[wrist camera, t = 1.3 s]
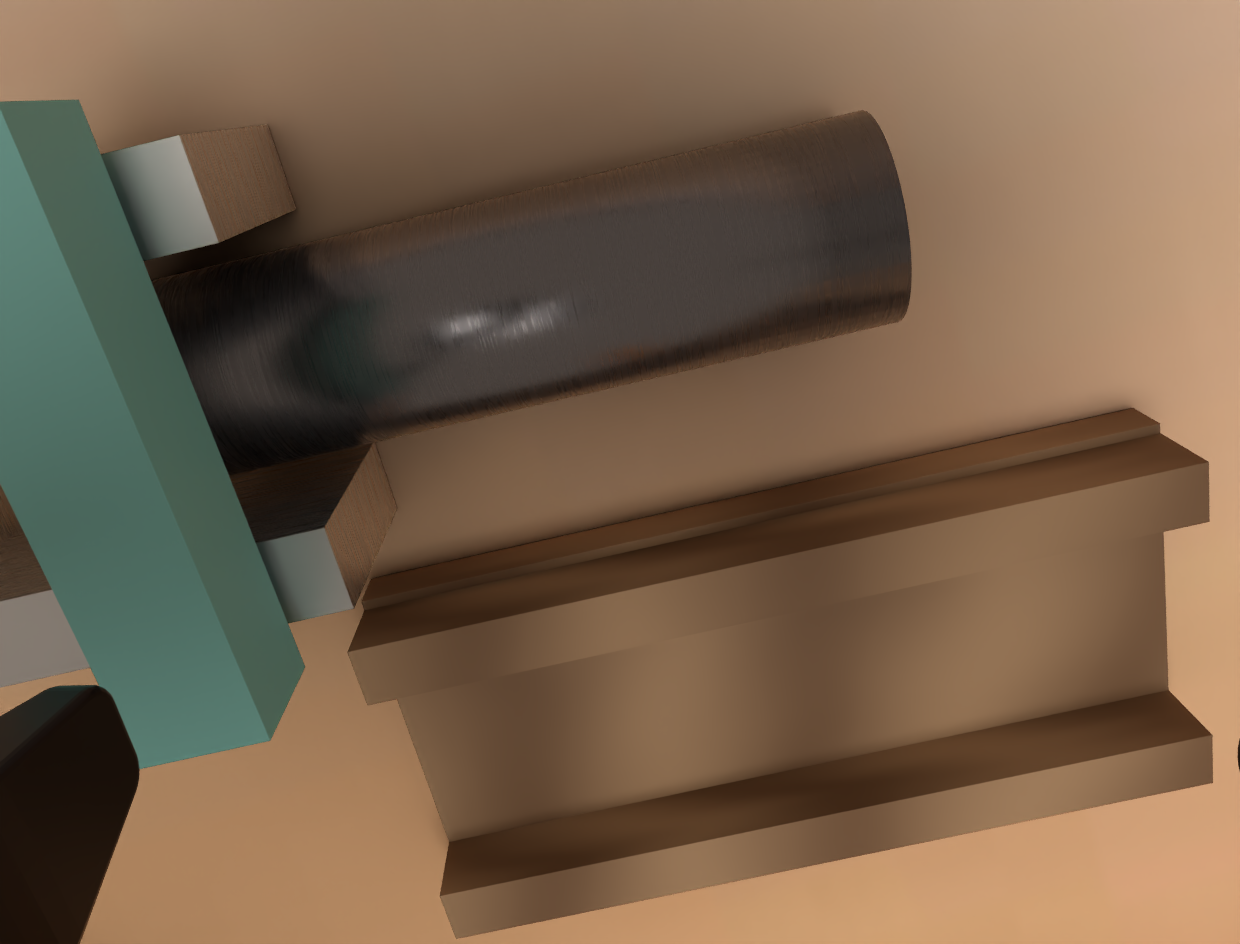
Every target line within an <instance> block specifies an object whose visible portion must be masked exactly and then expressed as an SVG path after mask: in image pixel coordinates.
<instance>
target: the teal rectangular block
mask: <svg viewBox="0 0 1240 944" xmlns="http://www.w3.org/2000/svg"><path fill="white" fill-rule="evenodd" d="M0 484H1V487H2V489H3V491H4V493H5V495H6V497H7V499H8V501H9V503H10V505H11V507H12V509H13V511H14V513H15V515H16V517H17V519H18V521H19V523H20V525H21V527H22V529H23V531H24V533H25V535H26V537H27V539H28V542H29V544H30V546H31V548H32V550H33V552H34V554H35V556H36V558H37V560H38V562H39V564H40V566H41V568H42V570H43V572H44V574H45V576H46V578H47V580H48V582H49V584H50V586H51V588H52V590H53V592H54V594H55V597H56V599H57V601H58V603H59V605H60V607H61V609H62V611H63V613H64V615H65V617H66V619H67V621H68V623H69V625H70V627H71V629H72V631H73V633H74V635H75V637H76V639H77V641H78V643H79V645H80V647H81V649H82V652H83V654H84V656H85V658H86V660H87V662H88V664H89V666H90V668H91V670H92V672H93V674H94V676H95V678H96V680H97V682H98V684H99V686H100V687H103V688H104V689H106V690H107V691H108V692H109V693H110V694H111V695H112V697H113V699H114V701H115V703H116V706H117V708H118V710H119V713H120V715H121V718H122V720H123V722H124V725H125V727H126V730H127V732H128V734H129V737H130V739H131V742H132V744H133V746H134V749H135V751H136V754H137V757H138V761H139V768H140V769H142V768H147V767H152V766H156V765H161V764H165V763H170V762H175V761H179V760H184V759H188V758H193V757H197V756H202V755H207V754H211V753H216V752H220V751H225V750H230V749H234V748H239V747H243V746H248V745H253V744H257V743H262V742H266V741H270V740H271V738H272V736H273V734H274V732H275V730H276V728H277V725H278V723H279V721H280V719H281V717H282V715H283V713H284V711H285V709H286V706H287V704H288V702H289V700H290V698H291V696H292V694H293V692H294V689H295V687H296V685H297V683H298V681H299V679H300V677H301V675H302V673H303V670H304V668H305V665H304V663H303V660H302V658H301V655H300V653H299V650H298V648H297V645H296V643H295V640H294V638H293V635H292V633H291V630H290V628H289V625H288V623H287V620H286V618H285V615H284V613H283V610H282V608H281V605H280V603H279V600H278V598H277V595H276V593H275V590H274V588H273V585H272V583H271V580H270V578H269V575H268V573H267V570H266V568H265V565H264V563H263V560H262V558H261V555H260V553H259V550H258V548H257V545H256V543H255V540H254V538H253V535H252V533H251V530H250V527H249V525H248V522H247V520H246V517H245V515H244V512H243V510H242V507H241V505H240V502H239V500H238V497H237V495H236V492H235V490H234V487H233V485H232V482H231V480H230V477H229V475H228V472H227V470H226V467H225V465H224V462H223V460H222V457H221V455H220V452H219V450H218V447H217V445H216V442H215V440H214V437H213V435H212V432H211V430H210V427H209V425H208V422H207V420H206V417H205V415H204V412H203V410H202V407H201V405H200V402H199V400H198V397H197V395H196V392H195V390H194V387H193V385H192V382H191V380H190V377H189V375H188V372H187V370H186V367H185V365H184V362H183V360H182V357H181V355H180V352H179V350H178V347H177V345H176V342H175V340H174V337H173V335H172V332H171V330H170V327H169V325H168V322H167V320H166V317H165V315H164V312H163V310H162V307H161V305H160V302H159V300H158V297H157V295H156V292H155V290H154V287H153V285H152V282H151V280H150V277H149V275H148V272H147V270H146V267H145V265H144V262H143V260H142V257H141V255H140V252H139V249H138V247H137V244H136V242H135V239H134V237H133V234H132V232H131V229H130V227H129V224H128V222H127V219H126V217H125V214H124V212H123V209H122V207H121V204H120V202H119V199H118V197H117V194H116V192H115V189H114V187H113V184H112V182H111V179H110V177H109V174H108V172H107V169H106V167H105V164H104V162H103V159H102V157H101V154H100V152H99V149H98V147H97V144H96V142H95V139H94V137H93V134H92V132H91V129H90V127H89V124H88V122H87V119H86V117H85V114H84V112H83V109H82V107H81V104H80V102H79V100H50V101H10V102H0Z"/></svg>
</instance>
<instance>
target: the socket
mask: <svg viewBox="0 0 1240 944" xmlns="http://www.w3.org/2000/svg"><path fill="white" fill-rule="evenodd" d="M101 157H102V159H103V162H104V164H105V167H106V169H107V172H108V174H109V177H110V179H111V182H112V184H113V187H114V189H115V192H116V194H117V197H118V199H119V202H120V204H121V207H122V209H123V212H124V214H125V217H126V219H127V222H128V224H129V227H130V229H131V232H132V234H133V237H134V239H135V242H136V244H137V247H138V249H139V252H140V255H141V257H142V260H143V261H145V260H150V259H154V258H158V257H162V256H166V255H170V254H174V253H179V252H183V251H187V250H191V249H195V248H199V247H203V246H208V245H212V244H216V243H219V242H222V241H224V240H226V239H229V238H231V237H233V236H236V235H238V234H240V233H243V232H245V231H247V230H250V229H252V228H254V227H257V226H259V225H261V224H263V223H266V222H268V221H270V220H273V219H275V218H277V217H280V216H282V215H284V214H287V213H289V212H291V211H294V210H296V208H295V205H294V202H293V199H292V196H291V193H290V190H289V187H288V184H287V181H286V178H285V175H284V172H283V169H282V166H281V163H280V160H279V157H278V154H277V151H276V148H275V145H274V142H273V139H272V136H271V134H270V131H269V128H268V125H259V126H251V127H243V128H234V129H226V130H218V131H209V132H201V133H193V134H184V135H177V136H173V137H169V138H165V139H161V140H157V141H153V142H149V143H145V144H141V145H137V146H133V147H129V148H125V149H121V150H117V151H113V152H109V153H105V154H101ZM229 477H230V480H231V482H232V485H233V487H234V490H235V492H236V495H237V497H238V500H239V502H240V505H241V507H242V510H243V512H244V515H245V517H246V520H247V522H248V525H249V527H250V530H251V533H252V535H253V538H254V540H255V543H256V545H257V548H258V550H259V553H260V555H261V558H262V560H263V563H264V565H265V568H266V570H267V573H268V575H269V578H270V580H271V583H272V585H273V588H274V590H275V593H276V595H277V598H278V600H279V603H280V605H281V608H282V610H283V613H284V615H285V618H286V620H287V623H292V622H296V621H301V620H305V619H310V618H314V617H319V616H323V615H328V614H332V613H337V612H341V611H346V610H350V609H354V607H355V605H356V603H357V600H358V598H359V596H360V593H361V591H362V589H363V586H364V584H365V582H366V579H367V577H368V575H369V572H370V570H371V568H372V566H373V563H374V561H375V559H376V556H377V554H378V552H379V549H380V547H381V545H382V542H383V540H384V538H385V535H386V533H387V531H388V529H389V526H390V524H391V522H392V519H393V517H394V515H395V512H396V510H397V507H396V504H395V501H394V498H393V495H392V492H391V489H390V486H389V483H388V480H387V477H386V474H385V471H384V468H383V466H382V463H381V460H380V457H379V454H378V451H377V448H376V445H375V442H373V443H369V444H365V445H360V446H356V447H351V448H347V449H343V450H338V451H334V452H330V453H325V454H321V455H317V456H312V457H308V458H304V459H299V460H295V461H291V462H286V463H282V464H277V465H273V466H269V467H264V468H260V469H256V470H251V471H247V472H243V473H238V474H234V475H230V476H229ZM86 668H90V666H89V664H88V662H87V660H86V658H85V656H84V654H83V652H82V649H81V647H80V645H79V643H78V641H77V639H76V637H75V635H74V633H73V631H72V629H71V627H70V625H69V623H68V621H67V619H66V617H65V615H64V613H63V611H62V609H61V607H60V605H59V603H58V601H57V599H56V597H55V594H54V592H53V590H52V588H51V586H50V584H49V582H48V580H47V578H46V576H45V574H44V572H43V570H42V568H41V566H40V564H39V562H38V560H37V558H36V556H35V554H34V552H33V550H32V548H31V546H30V544H29V542H28V539H27V537H26V535H25V533H24V531H23V529H22V527H21V525H20V523H19V521H18V519H17V517H16V515H15V513H14V511H13V509H12V507H11V505H10V503H9V501H8V499H7V497H6V495H5V493H4V491H3V489H2V487H1V484H0V687H5V686H9V685H14V684H18V683H23V682H27V681H32V680H36V679H41V678H45V677H50V676H54V675H59V674H63V673H68V672H72V671H77V670H81V669H86Z"/></svg>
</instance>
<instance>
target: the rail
mask: <svg viewBox="0 0 1240 944" xmlns="http://www.w3.org/2000/svg"><path fill="white" fill-rule="evenodd" d="M1206 522H1209V462H1208V461H1206V460H1204V459H1203V458H1201V457H1199V456H1198V455H1196V454H1194V453H1193V452H1191V451H1189V450H1188V449H1186V448H1184V447H1183V446H1181V445H1179V444H1178V443H1176V442H1174V441H1173V440H1171V439H1169V438H1168V437H1166V436H1164V435H1163V434H1161V433H1160V423H1158V422H1156V421H1155V420H1153V419H1151V418H1149V417H1148V416H1146V415H1144V414H1142V413H1141V412H1139V411H1137V410H1136V409H1134V408H1131V409H1127V410H1123V411H1118V412H1114V413H1109V414H1105V415H1100V416H1096V417H1091V418H1087V419H1082V420H1078V421H1073V422H1069V423H1065V424H1060V425H1056V426H1051V427H1047V428H1042V429H1038V430H1033V431H1029V432H1024V433H1020V434H1015V435H1011V436H1007V437H1002V438H998V439H993V440H989V441H984V442H980V443H975V444H971V445H966V446H962V447H957V448H953V449H949V450H944V451H940V452H935V453H931V454H926V455H922V456H917V457H913V458H908V459H904V460H899V461H895V462H891V463H886V464H882V465H877V466H873V467H868V468H864V469H859V470H855V471H850V472H846V473H841V474H837V475H833V476H828V477H824V478H819V479H815V480H810V481H806V482H801V483H797V484H792V485H788V486H783V487H779V488H775V489H770V490H766V491H761V492H757V493H752V494H748V495H743V496H739V497H734V498H730V499H726V500H721V501H717V502H712V503H708V504H703V505H699V506H694V507H690V508H685V509H681V510H676V511H672V512H668V513H663V514H659V515H654V516H650V517H645V518H641V519H636V520H632V521H627V522H623V523H618V524H614V525H610V526H605V527H601V528H596V529H592V530H587V531H583V532H578V533H574V534H569V535H565V536H560V537H556V538H552V539H547V540H543V541H538V542H534V543H529V544H525V545H520V546H516V547H511V548H507V549H502V550H498V551H494V552H489V553H485V554H480V555H476V556H471V557H467V558H462V559H458V560H453V561H449V562H444V563H440V564H436V565H431V566H427V567H422V568H418V569H413V570H409V571H404V572H400V573H395V574H391V575H386V576H382V577H378V578H373V579H371V581H370V583H369V585H368V588H367V590H366V592H365V595H364V597H363V599H362V605H363V607H364V610H365V611H364V613H363V616H362V618H361V620H360V623H359V625H358V628H357V630H356V633H355V635H354V638H353V640H352V642H351V645H350V647H349V650H348V655H349V658H350V660H351V663H352V666H353V668H354V671H355V674H356V676H357V679H358V681H359V684H360V687H361V689H362V692H363V695H364V697H365V700H366V703H367V705H372V704H377V703H381V702H386V701H390V700H395V699H397V700H398V703H399V706H400V709H401V711H402V714H403V717H404V720H405V722H406V725H407V728H408V730H409V733H410V736H411V739H412V741H413V744H414V747H415V750H416V752H417V755H418V758H419V761H420V763H421V766H422V769H423V772H424V774H425V777H426V780H427V783H428V785H429V788H430V791H431V793H432V796H433V799H434V802H435V804H436V807H437V810H438V813H439V815H440V818H441V821H442V824H443V826H444V829H445V832H446V835H447V837H448V840H449V846H448V852H447V858H446V863H445V869H444V875H443V881H442V887H441V892H440V898H441V901H442V903H443V906H444V908H445V911H446V914H447V916H448V919H449V922H450V924H451V927H452V930H453V932H454V935H455V937H456V939H459V938H463V937H468V936H473V935H478V934H483V933H488V932H493V931H497V930H502V929H507V928H512V927H517V926H522V925H526V924H531V923H536V922H541V921H546V920H551V919H555V918H560V917H565V916H570V915H575V914H580V913H585V912H589V911H594V910H599V909H604V908H609V907H614V906H618V905H623V904H628V903H633V902H638V901H643V900H648V899H652V898H657V897H662V896H667V895H672V894H677V893H681V892H686V891H691V890H696V889H701V888H706V887H710V886H715V885H720V884H725V883H730V882H735V881H740V880H744V879H749V878H754V877H759V876H764V875H769V874H773V873H778V872H783V871H788V870H793V869H798V868H802V867H807V866H812V865H817V864H822V863H827V862H832V861H836V860H841V859H846V858H851V857H856V856H861V855H865V854H870V853H875V852H880V851H885V850H890V849H895V848H899V847H904V846H909V845H914V844H919V843H924V842H928V841H933V840H938V839H943V838H948V837H953V836H957V835H962V834H967V833H972V832H977V831H982V830H987V829H991V828H996V827H1001V826H1006V825H1011V824H1016V823H1020V822H1025V821H1030V820H1035V819H1040V818H1045V817H1050V816H1054V815H1059V814H1064V813H1069V812H1074V811H1079V810H1083V809H1088V808H1093V807H1098V806H1103V805H1108V804H1112V803H1117V802H1122V801H1127V800H1132V799H1137V798H1142V797H1146V796H1151V795H1156V794H1161V793H1166V792H1171V791H1175V790H1180V789H1185V788H1190V787H1195V786H1200V785H1204V784H1209V783H1213V753H1212V734H1211V733H1210V732H1209V731H1208V730H1207V729H1206V728H1205V727H1204V726H1203V725H1202V724H1201V723H1200V722H1199V721H1198V720H1197V719H1196V718H1195V717H1194V716H1193V715H1192V714H1191V713H1190V712H1189V711H1188V710H1187V709H1186V708H1185V707H1184V706H1183V705H1182V704H1181V703H1180V701H1179V700H1178V699H1177V698H1176V697H1175V696H1174V695H1173V694H1172V693H1171V692H1170V691H1169V690H1168V662H1167V630H1166V599H1165V567H1164V536H1163V532H1165V531H1169V530H1174V529H1178V528H1183V527H1188V526H1192V525H1197V524H1201V523H1206Z"/></svg>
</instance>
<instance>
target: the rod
mask: <svg viewBox="0 0 1240 944" xmlns="http://www.w3.org/2000/svg"><path fill="white" fill-rule="evenodd" d="M151 282H152V285H153V287H154V290H155V292H156V295H157V297H158V300H159V302H160V305H161V307H162V310H163V312H164V315H165V317H166V320H167V322H168V325H169V327H170V330H171V332H172V335H173V337H174V340H175V342H176V345H177V347H178V350H179V352H180V355H181V357H182V360H183V362H184V365H185V367H186V370H187V372H188V375H189V377H190V380H191V382H192V385H193V387H194V390H195V392H196V395H197V397H198V400H199V402H200V405H201V407H202V410H203V412H204V415H205V417H206V420H207V422H208V425H209V427H210V430H211V432H212V435H213V437H214V440H215V442H216V445H217V447H218V450H219V452H220V455H221V457H222V460H223V462H224V465H225V467H226V470H227V472H228V475H229V476H230V475H234V474H238V473H243V472H247V471H251V470H256V469H260V468H264V467H269V466H273V465H277V464H282V463H286V462H291V461H295V460H299V459H304V458H308V457H312V456H317V455H321V454H325V453H330V452H334V451H338V450H343V449H347V448H351V447H356V446H360V445H365V444H369V443H373V442H378V441H382V440H386V439H391V438H395V437H399V436H404V435H408V434H412V433H417V432H421V431H426V430H430V429H434V428H439V427H443V426H447V425H452V424H456V423H460V422H465V421H469V420H473V419H478V418H482V417H487V416H491V415H495V414H500V413H504V412H508V411H513V410H517V409H521V408H526V407H530V406H534V405H539V404H543V403H547V402H552V401H556V400H561V399H565V398H569V397H574V396H578V395H582V394H587V393H591V392H595V391H600V390H604V389H608V388H613V387H617V386H622V385H626V384H630V383H635V382H639V381H643V380H648V379H652V378H656V377H661V376H665V375H669V374H674V373H678V372H683V371H687V370H691V369H696V368H700V367H704V366H709V365H713V364H717V363H722V362H726V361H730V360H735V359H739V358H743V357H748V356H752V355H757V354H761V353H765V352H770V351H774V350H778V349H783V348H787V347H791V346H796V345H800V344H804V343H809V342H813V341H818V340H822V339H826V338H831V337H835V336H839V335H844V334H848V333H852V332H857V331H861V330H865V329H870V328H874V327H879V326H883V325H887V324H892V323H896V322H899V321H901V320H902V319H903V318H904V316H905V314H906V312H907V308H908V305H909V299H910V292H911V249H910V238H909V230H908V222H907V216H906V210H905V204H904V199H903V195H902V190H901V186H900V182H899V178H898V174H897V170H896V167H895V164H894V160H893V157H892V155H891V152H890V149H889V146H888V144H887V141H886V139H885V137H884V135H883V133H882V131H881V129H880V127H879V125H878V124H877V122H876V120H875V119H874V118H873V117H872V116H871V114H869V113H868V112H867V111H864V110H861V111H856V112H852V113H848V114H844V115H840V116H836V117H831V118H827V119H823V120H819V121H815V122H811V123H806V124H802V125H798V126H794V127H790V128H786V129H781V130H777V131H773V132H769V133H765V134H760V135H756V136H752V137H748V138H744V139H740V140H735V141H731V142H727V143H723V144H719V145H715V146H710V147H706V148H702V149H698V150H694V151H690V152H685V153H681V154H677V155H673V156H669V157H665V158H660V159H656V160H652V161H648V162H644V163H640V164H635V165H631V166H627V167H623V168H619V169H615V170H610V171H606V172H602V173H598V174H594V175H589V176H585V177H581V178H577V179H573V180H569V181H564V182H560V183H556V184H552V185H548V186H544V187H539V188H535V189H531V190H527V191H523V192H519V193H514V194H510V195H506V196H502V197H498V198H494V199H489V200H485V201H481V202H477V203H473V204H469V205H464V206H460V207H456V208H452V209H448V210H444V211H439V212H435V213H431V214H427V215H423V216H419V217H414V218H410V219H406V220H402V221H398V222H393V223H389V224H385V225H381V226H377V227H373V228H368V229H364V230H360V231H356V232H352V233H348V234H343V235H339V236H335V237H331V238H327V239H323V240H318V241H314V242H310V243H306V244H302V245H298V246H293V247H289V248H285V249H281V250H277V251H273V252H268V253H264V254H260V255H256V256H252V257H248V258H243V259H239V260H235V261H231V262H227V263H222V264H218V265H214V266H210V267H206V268H202V269H197V270H193V271H189V272H185V273H181V274H177V275H172V276H168V277H164V278H160V279H156V280H152V281H151Z"/></svg>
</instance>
